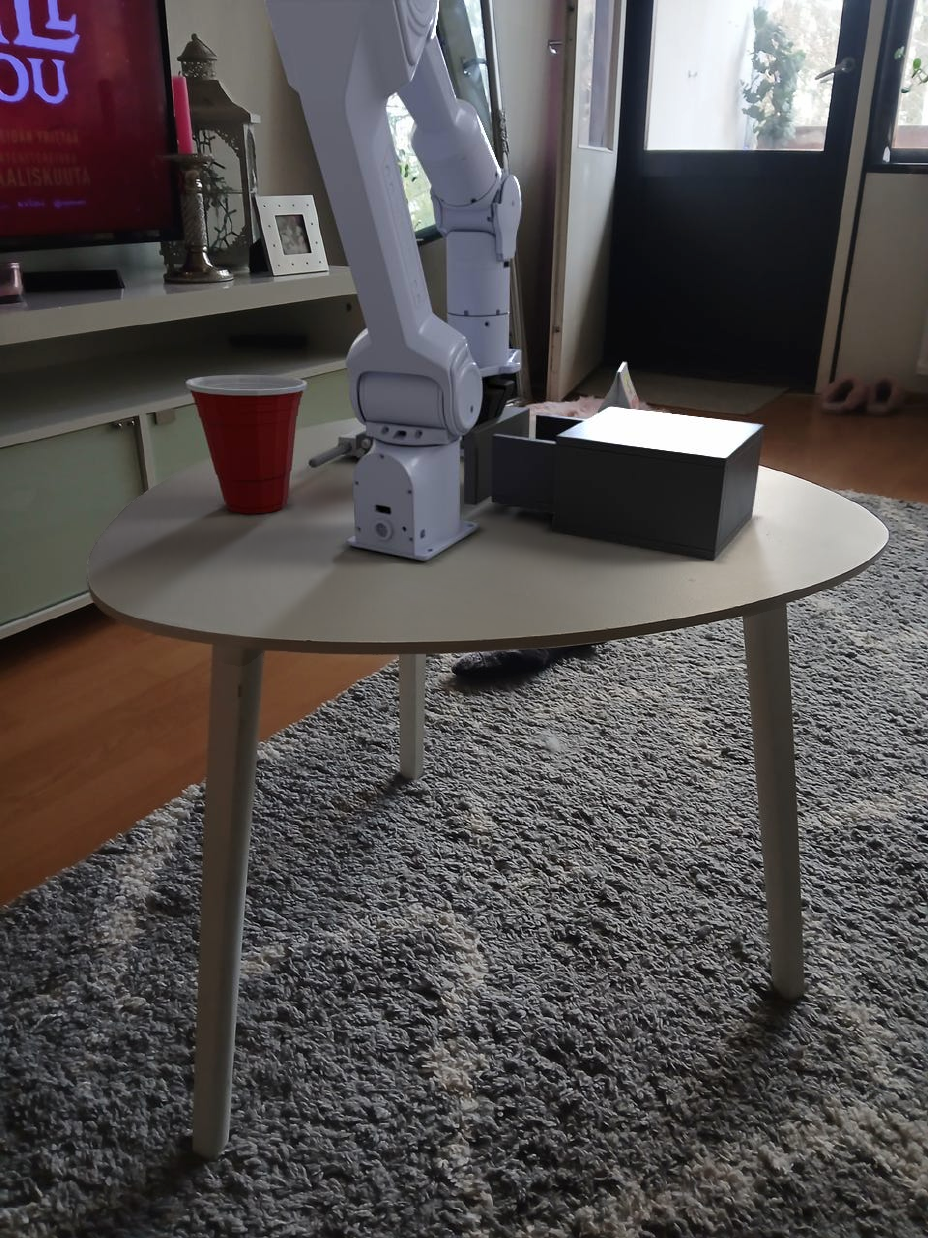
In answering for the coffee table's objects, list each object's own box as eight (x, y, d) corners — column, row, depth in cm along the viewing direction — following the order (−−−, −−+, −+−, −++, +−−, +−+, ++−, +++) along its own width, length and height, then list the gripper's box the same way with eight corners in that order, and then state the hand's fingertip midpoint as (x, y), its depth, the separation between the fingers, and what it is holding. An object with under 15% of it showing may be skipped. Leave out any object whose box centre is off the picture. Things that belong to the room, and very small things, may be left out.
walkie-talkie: (386, 432, 118) (302, 475, 101) (385, 395, 116) (299, 434, 99) (452, 439, 115) (378, 485, 98) (452, 402, 113) (376, 442, 96)
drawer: (425, 496, 92) (423, 425, 89) (481, 467, 101) (482, 402, 98) (599, 527, 84) (604, 450, 81) (643, 492, 93) (649, 422, 90)
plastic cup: (336, 495, 95) (329, 371, 90) (273, 529, 86) (262, 393, 81) (245, 482, 99) (233, 363, 94) (176, 513, 90) (159, 383, 85)
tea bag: (594, 465, 105) (600, 371, 101) (602, 449, 111) (607, 360, 107) (628, 467, 104) (635, 373, 100) (634, 451, 110) (641, 362, 106)
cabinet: (551, 531, 86) (555, 435, 82) (604, 493, 96) (609, 406, 92) (714, 560, 79) (726, 458, 76) (752, 516, 89) (764, 424, 86)
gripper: (479, 325, 81) (479, 482, 87) (550, 305, 93) (546, 444, 98) (407, 320, 84) (412, 471, 90) (485, 300, 96) (485, 436, 101)
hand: (477, 456), depth 94 cm, fingers closed, pressing on drawer
